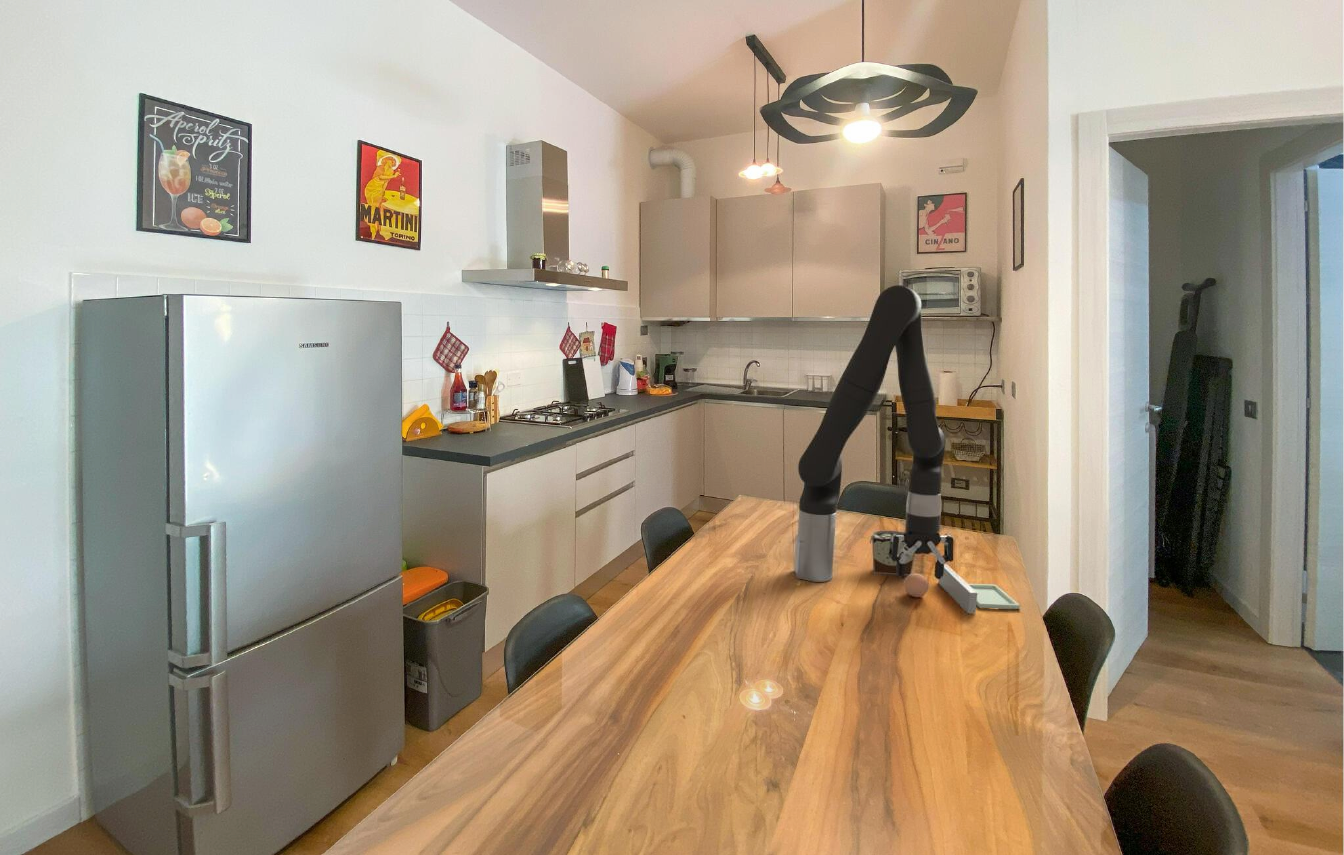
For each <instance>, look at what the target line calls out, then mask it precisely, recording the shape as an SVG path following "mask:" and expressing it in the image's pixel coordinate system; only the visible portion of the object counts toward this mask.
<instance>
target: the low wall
mask: <svg viewBox="0 0 1344 855" xmlns="http://www.w3.org/2000/svg"><path fill="white" fill-rule="evenodd" d="M937 580H938V581H937V583H938V585H940V587H942V588H943V589H944V591H946V592H948V593H947V594H948V595H949V596H950V597H951V596H952V597H951V598H952V599H953V598H954V599H953V600H954V601H955V600H956V601H955V602H956V603H957V604H958V605H959V604H960V605H959V606H960V607H961V608H962V610H964V609H965V610H964V612H966V611H967V612H966V614H968V613H975V614H976V610H977V606H976V602H977V592H976V591H975V590H974V589H973V588H972V587H971V586H969V585H968V584H969V583H968V582H966V580H964V579H963V578H962V577H961V576H960V575H959V574H958V573H957V572H955V570H953V569H952V568H951V567H950V566H949V565H948V564H947V563H945V564H944V575H943V577H941V579H937Z"/></svg>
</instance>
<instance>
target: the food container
mask: <svg viewBox="0 0 1344 855" xmlns="http://www.w3.org/2000/svg"><path fill="white" fill-rule="evenodd" d="M892 533H895V534H896V535H904V533H905V531H900V530H899V531H898V530H891V529H890V530H885V529H884V530H877V531H874V532H873V533H872V535H870V536H871V537H870V539H869V543H870V544H871V543H872V544H871V545H872V568H873V574H881V575H882V574H883V575H897V573H896V563H897V562H896V561H893V560H892V559H891V558H890V557H889V547H890V538H891V534H892ZM905 544H906V543H905V542H904V540H903V541H901V544H899V545H898V553H897V555H898V554H899V553H900V552H901V549H902V548H903V547H904V546H905ZM915 557H916V554H915V553H913V554H912V555H911V556H910V557H908V558H907V560H906V561H905V562H904V563H905V572H904V576H908V575H910V574H912V571H913V566H914V560H915ZM897 576H898V575H897Z"/></svg>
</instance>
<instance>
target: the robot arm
mask: <svg viewBox="0 0 1344 855" xmlns="http://www.w3.org/2000/svg"><path fill="white" fill-rule="evenodd" d="M894 348H895V353H896V362H897V378H898V385H899V386H898V387H899V392H900V395H901V397H900V398H901V400H902V401H901V402H902V404H903V409H904V413H905V424H906V434H907V440H908V445H909V447H910V451H911V452H912V453H913V455H912V466H911V467H910V468H911V469H910V470H909V475H908V476H909V477H908V493H907V496H906V497H907V498H906V504H905V511H906V512H905V525H904V526H905V527H904V532H905V533H904V535H896V534H895V533H892V534H891V538H890V547H889V557H890V558H891V559H892V560H893V561H896V562H897V563H896V573H897V576H898V577H899V578H900V579H905V575H904V572H905V563H904V562H905V561H906V560H907V558H908V557H910V556H911V555H912V554H913V553H915V555H921V554H924V555H930V554H932V555H933V557H934V558H935V560H936V561H935V562H934V577H935V578H936V579H937V580H938V579H941V577H943V575H944V564H947V562H949V563H950V562H951V563H952V562H954V537H952V536H951V535H950V534H949V533H946V534H944V535H940V530H941V517H942V516H941V513H942V496H941V495H942V494H941V493H942V469H943V463H944V457H945V450H946V449H945V448H946V436H945V433H944V432H943V430H942V429H941V428H940V427H939V424H938V420H937V401H936V397H935V390H934V385H933V381H932V376H931V373H930V368H929V365H928V364H929V363H928V360H927V356H926V355H927V354H926V351H925V345H924V338H923V324H922V299H921V297H920V296H919V294H918V293H917V291H916V290H914V289H912V288H910V287H908V286H904V285H901V284H898V285H897V284H896V285H892V286H889V287H887V288H885V289H884V290H882V292H881V293H880V294H879V295H878V298H876V300H875V303H874V307H873V310H872V312H871V315H870V318H869V321H868V323H867V326H866V329H865V331H864V333H863V336H862V339H861V340H860V342H859V344H858V345H857V347H856V349H855V350H854V353H853V354H852V356H851V357H850V360H849V361H848V363H847V365H846V367H845V369H844V371H843V372H842V374H841V377H840V379H839V381H838V383H837V385H836V387H835V389H834V391H833V393H832V396H831V398H830V401H829V402H828V405H827V407H826V410H825V412H824V415H823V417H822V421H821V423H820V425H819V427H818V429H817V430H816V433H815V434H814V436H813V438H812V439H811V441H810V442H809V444H808V445H807V447H806V449H805V450H804V452H803V453H802V455H801V457H800V458H799V461H798V465H797V466H798V467H797V468H798V470H797V471H798V475H799V477H800V479H801V481H802V482H803V489H802V493H801V495H800V498H799V504H798V507H799V508H798V521H797V523H798V524H797V534H796V535H795V546H794V548H795V549H794V560H793V561H794V564H793V571H794V573H795V576H796V578H797V580H798V579H799V580H804V581H809V582H814V583H815V582H816V583H817V582H819V583H820V582H821V583H822V582H828V581H831V580H832V579H833V572H834V560H835V559H834V556H835V544H836V543H835V541H836V540H835V539H836V528H837V526H836V524H837V522H836V521H837V512H838V511H837V510H838V503H839V500H840V494H841V483H842V476H843V475H842V474H843V471H842V470H843V464H842V463H843V462H842V458H841V455H842V453H843V450H844V447H845V446H846V444H847V441H849V438H850V437H851V436H852V435H853V433H854V431H855V430H857V428H858V427H859V425H860V423H861V422H862V421H863V420H864V418H865V416H866V415H867V413H869V410H870V409H871V407H872V405H873V404H874V401H875V400H876V397H877V396H878V393H880V392H879V391H880V390H881V387H882V385H883V382H884V378H885V376H886V372H887V368H888V365H889V361H890V358H891V355H892V352H893V351H894ZM903 540H904V542H905V543H906V544H905V546H904V547H903V548H902V549H901V552H900V553H899V554H898V555H897V553H898V545H899V544H901V541H903ZM940 543H942V544H943V553H944V554H941V553H940V551H939V549H938V548H937V547H938V546H939V544H940Z"/></svg>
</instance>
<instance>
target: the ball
mask: <svg viewBox="0 0 1344 855" xmlns="http://www.w3.org/2000/svg"><path fill="white" fill-rule="evenodd" d="M903 587H904V588H903V589H904V590H905V592H906V593H907V595H909V596H911V597H913V598H921V597H923V596H925V595H926V594H927V593H928V592H929V587H930V586H929V582H928V580H927V578H926V577H925V576H924V575H923V574H920V573H911V574H910V575H906V577H905V578H904V581H903Z"/></svg>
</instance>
